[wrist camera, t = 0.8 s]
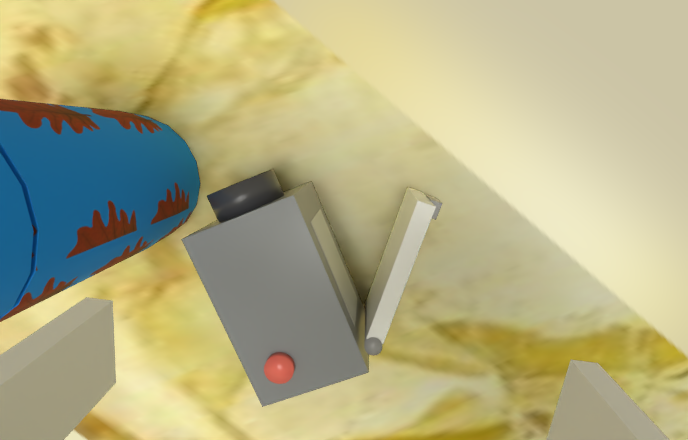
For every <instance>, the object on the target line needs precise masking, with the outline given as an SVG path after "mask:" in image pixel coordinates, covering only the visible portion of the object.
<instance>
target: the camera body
mask: <svg viewBox="0 0 688 440" xmlns="http://www.w3.org/2000/svg"><path fill="white" fill-rule="evenodd" d="M207 198H208V200H209V202H210V204H211V206H212V208H213V210H214V213H215V215H216V217H217V219H218V220H216V221H214V222H212V223H211V224H209V225H207V226H205V227H203V228H201V229H200V230H198V231H196V232H194V233H192V234H190V235H189V236H187V237H185V238H183V239H182V241H183V243H184V245H185V248H186V250H187V252H188V254H189V256H190V258H191V260H192V262H193V264H194V266H195V268H196V270H197V272H198V274H199V276H200V279H201V281H202V283H203V285H204V287H205V289H206V291H207V293H208V295H209V297H210V299H211V301H212V303H213V305H214V307H215V310H216V312H217V314H218V316H219V318H220V320H221V322H222V324H223V326H224V328H225V330H226V332H227V334H228V336H229V338H230V341H231V343H232V345H233V347H234V349H235V351H236V353H237V355H238V357H239V359H240V361H241V363H242V365H243V367H244V369H245V372H246V374H247V376H248V378H249V380H250V382H251V384H252V386H253V388H254V390H255V392H256V394H257V396H258V398H259V400H260V403H261V405H262V407H263V406H266V405H269V404H273V403H276V402H279V401H282V400H285V399H288V398H291V397H294V396H297V395H300V394H303V393H307V392H310V391H313V390H316V389H319V388H322V387H325V386H328V385H331V384H334V383H337V382H340V381H344V380H347V379H350V378H353V377H356V376H359V375H362V374H365V373H368V372H369V354H368V353H367V352H366V351H365V349H364V341H365V309H364V306H363V304H362V302H361V299H360V297H359V294H358V292H357V290H356V287H355V285H354V282H353V280H352V277H351V275H350V273H349V270H348V268H347V265H346V263H345V261H344V258H343V256H342V253H341V251H340V248H339V246H338V244H337V241H336V239H335V236H334V234H333V232H332V229H331V227H330V224H329V222H328V219H327V217H326V215H325V212H324V210H323V207H322V205H321V203H320V200H319V198H318V195H317V193H316V190H315V188H314V186H313V183H312V181H311V182H308V183H306V184H303V185H301V186H298V187H296V188H293V189H291V190H288V191H286V192H283V191H282V188H281V186H280V184H279V181H278V179H277V177H276V174H275V172H274V170H273V169H272V170H269V171H267V172H264V173H261V174H259V175H256V176H254V177H251V178H249V179H246V180H244V181H241V182H239V183H236V184H234V185H231V186H229V187H226V188H224V189H222V190H219V191H217V192H214V193H212V194H210V195H208V196H207Z"/></svg>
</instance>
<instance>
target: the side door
mask: <svg viewBox="0 0 688 440" xmlns="http://www.w3.org/2000/svg"><path fill="white" fill-rule="evenodd" d="M441 205H442V203H441V202H440V201H439V200H438V199H437V198H435V197H432V196H429V195H426V196H425V195H424V194H423V192H421V191H418V190H415V189H412V188H409V187H407V190H406V193H405V195H404V198H403V201H402V204H401V206H400V209H399V212H398V215H397V217H396V220H395V223H394V226H393V228H392V231H391V234H390V237H389V239H388V242H387V245H386V248H385V250H384V253H383V256H382V258H381V261H380V264H379V267H378V269H377V272H376V275H375V278H374V280H373V283H372V286H371V289H370V291H369V294H368V297H367V299H366V302H365V341H364V349H365V351H366V352H367V353H368V354H369V355H377V354H379V353H380V352H381V350H382V344H383V343H384V341H385V338H386V335H387V333H388V330H389V328H390V325H391V322H392V320H393V317H394V315H395V312H396V309H397V307H398V304H399V302H400V299H401V296H402V294H403V291H404V289H405V286H406V283H407V281H408V278H409V276H410V273H411V270H412V268H413V265H414V263H415V260H416V257H417V255H418V252H419V250H420V247H421V244H422V242H423V239H424V237H425V234H426V231H427V229H428V226H429V224H430V221H431V218H432V219H435V220H436V218H437V216H438V213H439V210H440V208H441Z"/></svg>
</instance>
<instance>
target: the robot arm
mask: <svg viewBox="0 0 688 440" xmlns="http://www.w3.org/2000/svg"><path fill="white" fill-rule="evenodd" d="M115 383H116V374H115V348H114V323H113V301H110V300H103V299H95V298H87V297H86V298H85V299H83V300H82V301H80V302H79V303H77V304H76V305H74V306H73V307H71V308H70V309H68V310H67V311H65V312H64V313H62V314H61V315H59V316H58V317H56V318H55V319H53V320H52V321H50V322H49V323H47V324H46V325H45V326H43V327H42V328H40V329H39V330H37V331H36V332H34V333H33V334H31V335H30V336H28V337H27V338H25V339H24V340H22V341H21V342H19V343H18V344H16V345H15V346H13V347H12V348H10V349H9V350H7V351H6V352H4V353H3V354H1V355H0V440H64V439H65V438H66V437H67V436H68V435H69V434H70V432H71V431H72V430H73V429H74V428H75V427H76V426H77V425H78V424H79V423H80V421H81V420H82V419H83V418H84V417H85V416H86V415H87V414H88V413H89V412H90V411H91V409H92V408H93V407H94V406H95V405H96V404H97V403H98V402H99V401H100V400H101V398H102V397H103V396H104V395H105V394H106V393H107V392H108V391H109V390H110V389H111V387H112V386H113V385H114V384H115ZM547 440H669V439H668V438H667V437H666V436H665V434H664V433H663V432H662V431H661V430H660V429H659V428H658V427H657V426H656V425H655V424H654V423H653V422H652V421H651V419H650V418H649V417H648V416H647V415H646V414H645V413H644V412H643V411H642V410H641V409H640V408H639V407H638V406H637V404H636V403H635V402H634V401H633V400H632V399H631V398H630V397H629V396H628V395H627V394H626V393H625V392H624V391H623V389H622V388H621V387H620V386H619V385H618V384H617V383H616V382H615V381H614V380H613V379H612V378H611V377H610V376H609V374H608V373H607V372H606V371H605V370H604V369H603V368H602V367H601V366H600V365H599V364H598V363H593V362H585V361H577V360H571V361H570V364H569V367H568V370H567V374H566V377H565V380H564V383H563V387H562V390H561V393H560V397H559V400H558V403H557V406H556V410H555V413H554V416H553V420H552V423H551V426H550V429H549V433H548V436H547Z"/></svg>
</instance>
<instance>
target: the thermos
mask: <svg viewBox="0 0 688 440" xmlns="http://www.w3.org/2000/svg"><path fill="white" fill-rule="evenodd" d="M199 188H200V180H199V174H198V168H197V163H196V160H195V158H194V157H193V155H192V153H191V151H190V149H189V148H188V146H187V144H186V142H185V141H184V140H183V139H182V138H181V137H180V136H179V135H178V134H177V133H175V132H174V131H173V130H172V129H171V128H170V127H169V126H168V125H165V124H163V123H161V122H159V121H156V120H154V119H152V118H150V117H147V116H142V115H137V114H132V113H127V112H121V111H114V110H104V109H94V108H84V107H75V106H65V105H55V104H45V103H35V102H26V101H16V100H6V99H0V322H1V321H3V320H5V319H7V318H9V317H11V316H13V315H15V314H17V313H19V312H21V311H23V310H25V309H27V308H29V307H31V306H33V305H35V304H37V303H39V302H41V301H43V300H45V299H47V298H49V297H51V296H53V295H55V294H57V293H59V292H61V291H63V290H65V289H67V288H69V287H71V286H73V285H75V284H77V283H79V282H81V281H83V280H85V279H87V278H89V277H91V276H93V275H95V274H97V273H99V272H101V271H103V270H105V269H107V268H109V267H111V266H113V265H115V264H117V263H119V262H121V261H123V260H125V259H127V258H129V257H131V256H133V255H135V254H137V253H139V252H141V251H143V250H145V249H147V248H149V247H150V246H152V245H153V244H155V243H157V242H158V241H160V240H161V239H163V238H165V237H166V236H168V235H169V234H171V233H172V232H174V231H175V230H176V229H178V228H179V227H180V226H181V225H183V224H184V223H185V222H187V220H188V218H189V217H190V215H191V213H192V211H193V210H194V208H195V206H196V205H197V200H198V194H199Z"/></svg>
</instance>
